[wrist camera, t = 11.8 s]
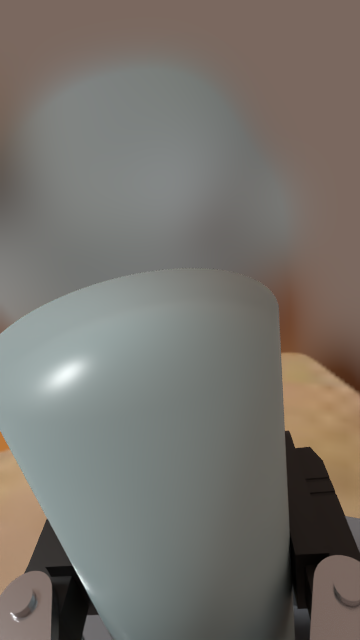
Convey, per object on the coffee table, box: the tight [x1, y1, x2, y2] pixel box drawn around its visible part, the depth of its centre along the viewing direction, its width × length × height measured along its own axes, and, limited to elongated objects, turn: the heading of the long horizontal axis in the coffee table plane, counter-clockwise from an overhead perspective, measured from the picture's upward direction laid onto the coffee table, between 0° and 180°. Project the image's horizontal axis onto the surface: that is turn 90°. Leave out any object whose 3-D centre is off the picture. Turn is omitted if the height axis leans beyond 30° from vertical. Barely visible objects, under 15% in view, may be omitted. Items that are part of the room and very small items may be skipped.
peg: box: [0, 268, 295, 640], centre depth 9 cm, size 5×5×15 cm
